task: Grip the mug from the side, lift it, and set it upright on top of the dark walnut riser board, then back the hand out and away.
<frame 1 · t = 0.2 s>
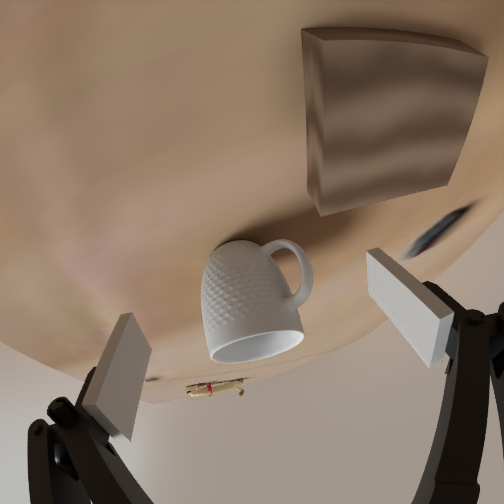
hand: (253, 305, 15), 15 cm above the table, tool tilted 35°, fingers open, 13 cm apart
mug: (240, 249, 38), on the table
cat figure: (212, 382, 114), on the table
riser board: (388, 111, 24), on the table
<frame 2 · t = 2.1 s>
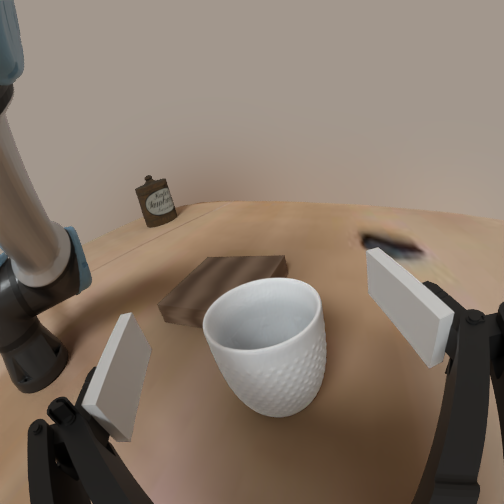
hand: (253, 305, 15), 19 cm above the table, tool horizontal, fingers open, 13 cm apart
mug: (281, 389, 32), on the table
wooden container: (162, 221, 127), on the table
riser board: (228, 297, 54), on the table
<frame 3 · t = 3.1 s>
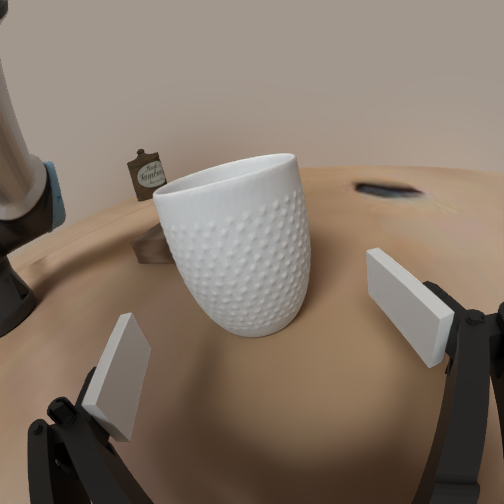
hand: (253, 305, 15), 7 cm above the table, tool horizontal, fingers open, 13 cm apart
mug: (259, 309, 27), on the table
wooden container: (153, 195, 122), on the table
riser board: (208, 237, 49), on the table
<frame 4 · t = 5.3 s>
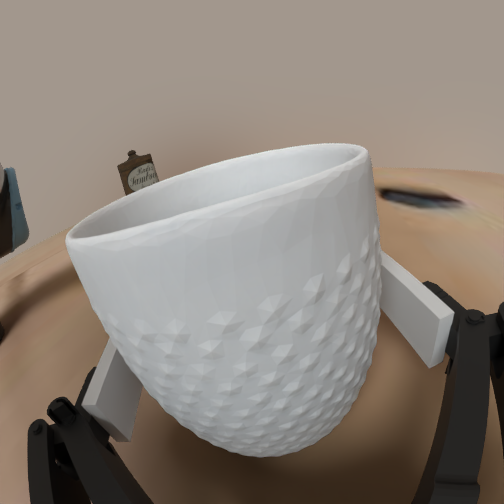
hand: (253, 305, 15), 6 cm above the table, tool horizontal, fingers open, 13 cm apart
mug: (275, 395, 16), on the table
wooden container: (146, 201, 111), on the table
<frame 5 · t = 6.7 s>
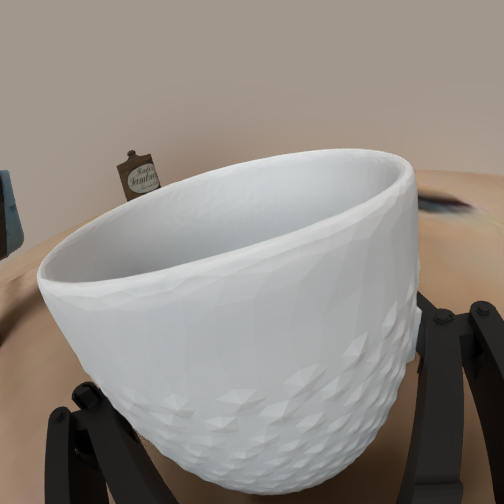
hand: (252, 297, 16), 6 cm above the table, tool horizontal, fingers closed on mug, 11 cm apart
mug: (283, 420, 14), on the table, touching gripper
wooden container: (146, 202, 110), on the table
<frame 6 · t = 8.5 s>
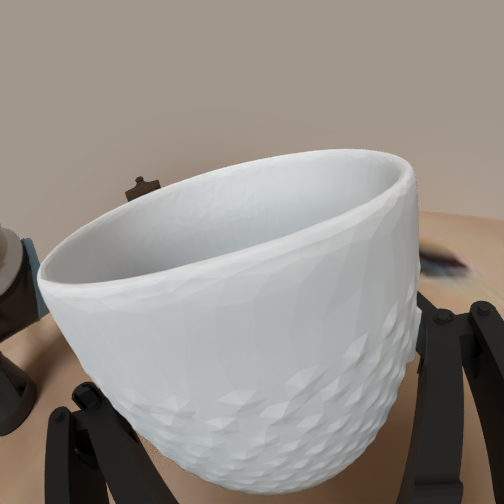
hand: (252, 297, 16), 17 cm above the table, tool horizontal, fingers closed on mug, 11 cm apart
mug: (283, 420, 14), point 10 cm above the table, touching gripper
wooden container: (155, 227, 114), on the table
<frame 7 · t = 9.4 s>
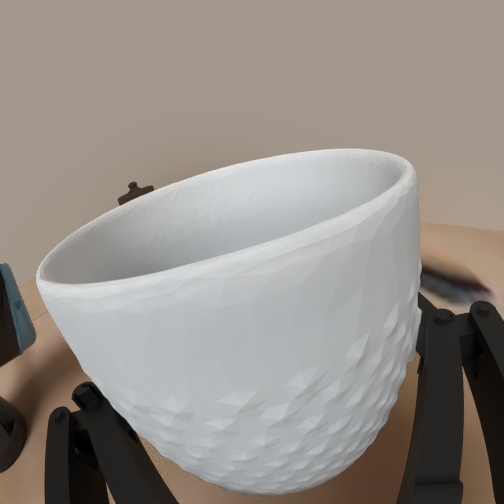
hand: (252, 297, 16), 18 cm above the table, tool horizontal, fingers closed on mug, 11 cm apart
mug: (283, 420, 14), point 12 cm above the table, touching gripper
wooden container: (150, 235, 107), on the table
when the fingers open (11 cm above the table, at t = 12.7 s): mug drops 1 cm, resting on riser board.
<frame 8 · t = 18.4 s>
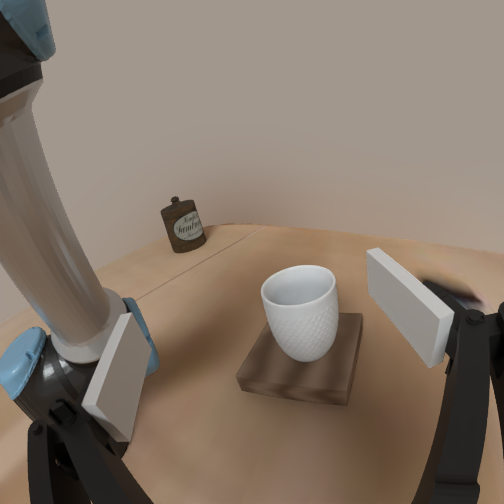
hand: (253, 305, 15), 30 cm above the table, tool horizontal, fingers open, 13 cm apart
mug: (307, 345, 47), point 4 cm above the table, touching riser board
wooden container: (190, 245, 122), on the table
riser board: (306, 360, 48), on the table
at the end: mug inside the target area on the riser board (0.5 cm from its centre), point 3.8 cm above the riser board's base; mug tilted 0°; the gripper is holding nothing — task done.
